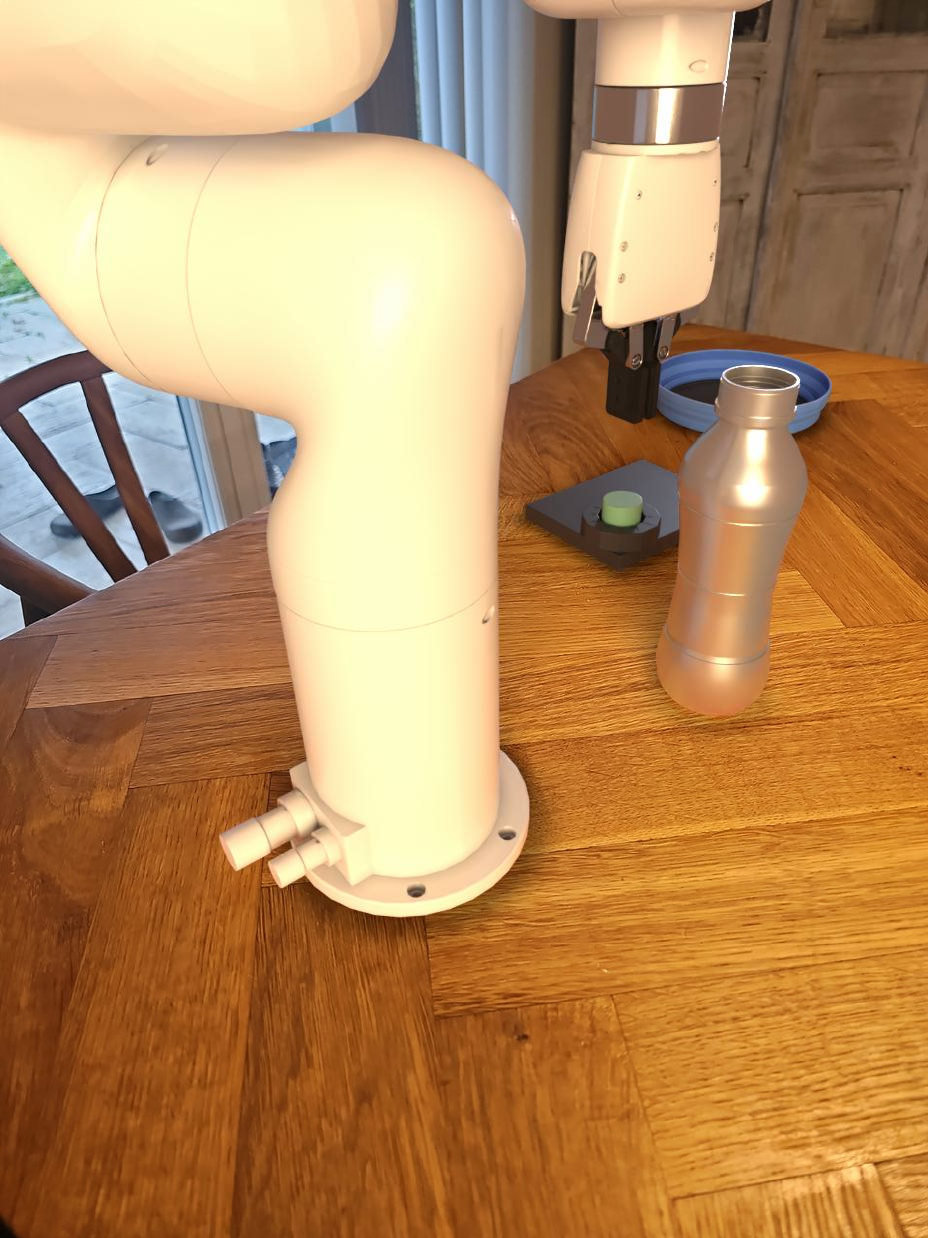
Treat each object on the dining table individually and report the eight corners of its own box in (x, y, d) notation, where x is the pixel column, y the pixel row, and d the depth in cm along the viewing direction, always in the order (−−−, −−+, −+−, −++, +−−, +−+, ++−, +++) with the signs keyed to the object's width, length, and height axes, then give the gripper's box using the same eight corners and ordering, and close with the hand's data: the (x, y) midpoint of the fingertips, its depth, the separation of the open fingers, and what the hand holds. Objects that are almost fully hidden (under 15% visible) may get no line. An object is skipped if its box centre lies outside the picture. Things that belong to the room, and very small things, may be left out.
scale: (618, 576, 64) (621, 542, 62) (521, 520, 71) (521, 488, 70) (742, 518, 71) (748, 485, 69) (641, 472, 78) (644, 442, 77)
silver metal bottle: (721, 747, 49) (787, 413, 37) (629, 691, 53) (662, 377, 41) (783, 697, 52) (861, 377, 41) (692, 648, 56) (739, 347, 45)
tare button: (621, 532, 64) (622, 512, 63) (593, 518, 66) (594, 498, 65) (648, 520, 65) (650, 500, 64) (620, 506, 67) (622, 486, 66)
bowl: (620, 420, 89) (623, 387, 87) (688, 369, 101) (692, 339, 99) (794, 457, 80) (801, 421, 78) (845, 397, 92) (853, 365, 90)
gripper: (692, 107, 56) (663, 378, 67) (517, 127, 49) (515, 427, 60) (788, 113, 51) (740, 405, 62) (609, 136, 44) (589, 461, 55)
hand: (630, 415), depth 61 cm, fingers closed
